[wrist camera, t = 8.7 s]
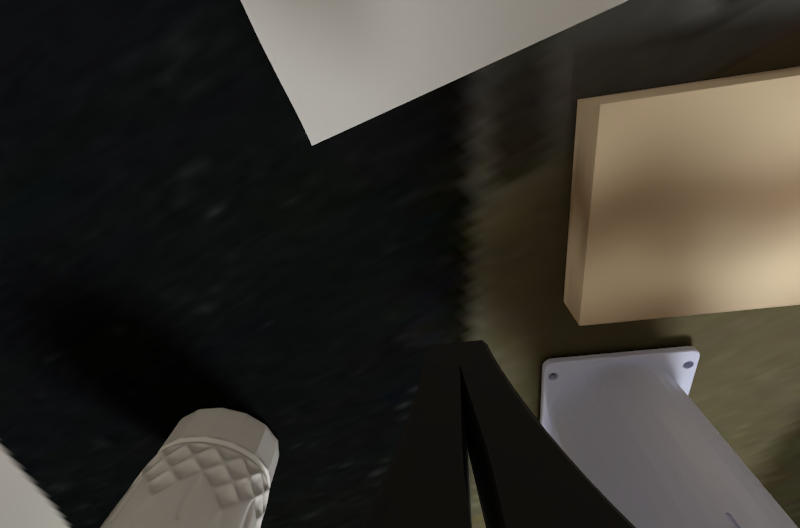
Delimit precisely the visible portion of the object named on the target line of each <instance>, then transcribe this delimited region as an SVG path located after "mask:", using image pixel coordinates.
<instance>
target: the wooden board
mask: <svg viewBox="0 0 800 528" xmlns="http://www.w3.org/2000/svg"><path fill="white" fill-rule="evenodd" d="M564 303H565V305H566V306H567V308H568V309H569V311H570V312H571V314H572V316H573V317H574V319H575V320H576V322H577V323H578V325H579V326H584V325H594V324H604V323H614V322H625V321H635V320H645V319H656V318H666V317H676V316H686V315H697V314H707V313H717V312H727V311H738V310H748V309H758V308H768V307H779V306H789V305H799V304H800V66H799V67H792V68H785V69H778V70H772V71H765V72H758V73H752V74H745V75H738V76H731V77H725V78H718V79H711V80H705V81H698V82H691V83H684V84H678V85H671V86H664V87H658V88H651V89H644V90H638V91H631V92H624V93H617V94H611V95H604V96H597V97H591V98H584V99H578V102H577V116H576V130H575V145H574V159H573V173H572V188H571V202H570V217H569V231H568V245H567V260H566V274H565V288H564Z"/></svg>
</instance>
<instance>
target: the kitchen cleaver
mask: <svg viewBox="0 0 800 528" xmlns="http://www.w3.org/2000/svg"><path fill="white" fill-rule="evenodd" d="M626 1H628V0H241V2H242V4H243V7H244V9H245V11H246V13H247V15H248V17H249V19H250V22H251V24H252V26H253V28H254V30H255V32H256V34H257V36H258V38H259V40H260V42H261V45H262V47H263V49H264V51H265V53H266V55H267V57H268V59H269V61H270V63H271V64H272V66H273V68H274V70H275V72H276V74H277V76H278V78H279V80H280V82H281V84H282V86H283V88H284V90H285V92H286V93H287V95H288V97H289V99H290V101H291V103H292V105H293V107H294V109H295V111H296V113H297V115H298V117H299V119H300V121H301V123H302V125H303V127H304V129H305V131H306V133H307V136H308V138H309V140H310V142H311V145H315V144H317V143H319V142H321V141H323V140H326V139H328V138H330V137H332V136H334V135H336V134H339V133H341V132H343V131H345V130H347V129H349V128H352V127H354V126H356V125H358V124H360V123H363V122H365V121H367V120H369V119H371V118H373V117H376V116H378V115H380V114H382V113H384V112H386V111H389V110H391V109H393V108H395V107H397V106H400V105H402V104H404V103H406V102H408V101H410V100H413V99H415V98H417V97H419V96H421V95H423V94H426V93H428V92H430V91H432V90H434V89H437V88H439V87H441V86H443V85H445V84H447V83H450V82H452V81H454V80H456V79H458V78H460V77H463V76H465V75H467V74H469V73H471V72H474V71H476V70H478V69H480V68H482V67H484V66H487V65H489V64H491V63H493V62H495V61H498V60H500V59H502V58H504V57H506V56H508V55H511V54H513V53H515V52H517V51H519V50H521V49H524V48H526V47H528V46H530V45H532V44H535V43H537V42H539V41H541V40H543V39H545V38H548V37H550V36H552V35H554V34H556V33H558V32H561V31H563V30H565V29H567V28H569V27H572V26H574V25H576V24H578V23H580V22H582V21H585V20H587V19H589V18H591V17H593V16H595V15H598V14H600V13H602V12H604V11H606V10H609V9H611V8H613V7H615V6H617V5H619V4H622V3H624V2H626Z"/></svg>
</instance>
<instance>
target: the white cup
mask: <svg viewBox="0 0 800 528" xmlns="http://www.w3.org/2000/svg"><path fill="white" fill-rule="evenodd" d="M278 458H279V449H278V440H277V438H276V437H275V436H274V434H273V433H272V432H271V431H270V429H269V428H268V427H267V425H265V424H264V423H262V422H260V421H259V420H257V419H255V418H254V417H252V416H250V415H248V414H247V413H243V412H239V411H235V410H231V409H226V408H208V409H199V410H197V411H195V412H193V413H191V414H189V415H187V416H185V417H183V418H182V419H181V420H180V421H179V423H178V424H177V426H176V427H175V429H174V430H173V431H172V433H171V434H170V436H169V437H168V439H167V440H166V442H165V443H164V444H163V446H162V447H161V449H160V450H159V452H158V453H157V455H156V456H155V457H154V458H153V459H152V460H151V461H150V462H149V463H148V464H147V465H146V466H145V468H144V469H143V470H142V472H141V473H140V474H139V476H138V477H137V478H136V480H135V481H134V483H133V484H132V485H131V487H130V488H129V489H128V491H127V492H126V494H125V495H124V496H123V497H122V499H121V500H120V501H119V503H118V504H117V505H116V507H115V508H114V509H113V511H112V512H111V513H110V515H109V516H108V517H107V519H106V520H105V522H104V523H103V525H102V526H101V527H100V528H260V527H261V522H262V519H263V516H264V513H265V510H266V506H267V501H268V496H269V488H270V485H271V482H272V479H273V475H274V472H275V468H276V465H277V461H278Z"/></svg>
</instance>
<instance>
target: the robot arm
mask: <svg viewBox="0 0 800 528" xmlns="http://www.w3.org/2000/svg"><path fill="white" fill-rule="evenodd" d="M699 357H700V353H699V352H698V351H697V350H696V349H695V348H694V347H692V346H683V347H672V348H661V349H650V350H639V351H628V352H617V353H606V354H595V355H584V356H573V357H562V358H552V359H548V360H546V361H545V362H544V363H543V366H542V387H541V410H540V422H539V421H538V419H537V418H536V417H535V416H534V414H533V413H532V412H531V410H530V409H529V408H528V406H527V405H526V404H525V402H524V401H523V400H522V398H521V397H520V396H519V394H518V393H517V392H516V390H515V389H514V387H513V386H512V384H511V383H510V382H509V380H508V379H507V377H506V376H505V374H504V373H503V371H502V370H501V368H500V366H499V365H498V363H497V362H496V360H495V358H494V356H493V355H492V353H491V351H490V349H489V347H488V345H487V344H486V343H485V342H484V341H482V340H480V341H469V342H459V343H449V344H438V345H429V346H428V347H427V348H426V349H425V358H424V364H423V369H422V374H421V378H420V382H419V385H418V389H417V393H416V396H415V399H414V402H413V405H412V408H411V411H410V414H409V417H408V420H407V423H406V426H405V429H404V431H403V434H402V436H401V439H400V441H399V444H398V446H397V449H396V451H395V454H394V456H393V459H392V461H391V464H390V466H389V468H388V470H387V473H386V475H385V477H384V479H383V482H382V484H381V486H380V488H379V490H378V492H377V494H376V496H375V498H374V501H373V503H372V505H371V507H370V509H369V511H368V513H367V515H366V517H365V519H364V521H363V522H362V524H361V526H360V528H472V524H471V505H470V486H469V468H468V452H469V457H470V461H471V465H472V470H473V474H474V478H475V483H476V487H477V491H478V495H479V500H480V504H481V508H482V513H483V517H484V521H485V525H486V528H798V527H797V526H796V525H795V524H794V522H793V521H792V520H791V519H790V517H789V516H788V515H787V514H786V513H785V511H784V510H783V509H782V508H781V507H780V505H779V504H778V503H777V502H776V501H775V499H774V498H773V497H772V496H771V495H770V493H769V492H768V491H767V490H766V489H765V487H764V486H763V485H762V484H761V483H760V481H759V480H758V479H757V478H756V477H755V475H754V474H753V473H752V472H751V471H750V469H749V468H748V467H747V466H746V465H745V463H744V462H743V461H742V460H741V459H740V457H739V456H738V455H737V454H736V453H735V451H734V450H733V449H732V448H731V447H730V445H729V444H728V443H727V442H726V441H725V439H724V438H723V437H722V436H721V435H720V433H719V432H718V431H717V430H716V429H715V427H714V426H713V425H712V424H711V423H710V421H709V420H708V419H707V418H706V417H705V415H704V414H703V413H702V412H701V411H700V409H699V408H698V407H697V406H696V405H695V403H694V402H693V401H692V400H691V399H690V397H689V396H688V394H689V391H690V388H691V384H692V381H693V378H694V374H695V371H696V367H697V364H698V361H699ZM552 373H554V374H552ZM550 374H552V375H550ZM467 448H468V449H467Z"/></svg>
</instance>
